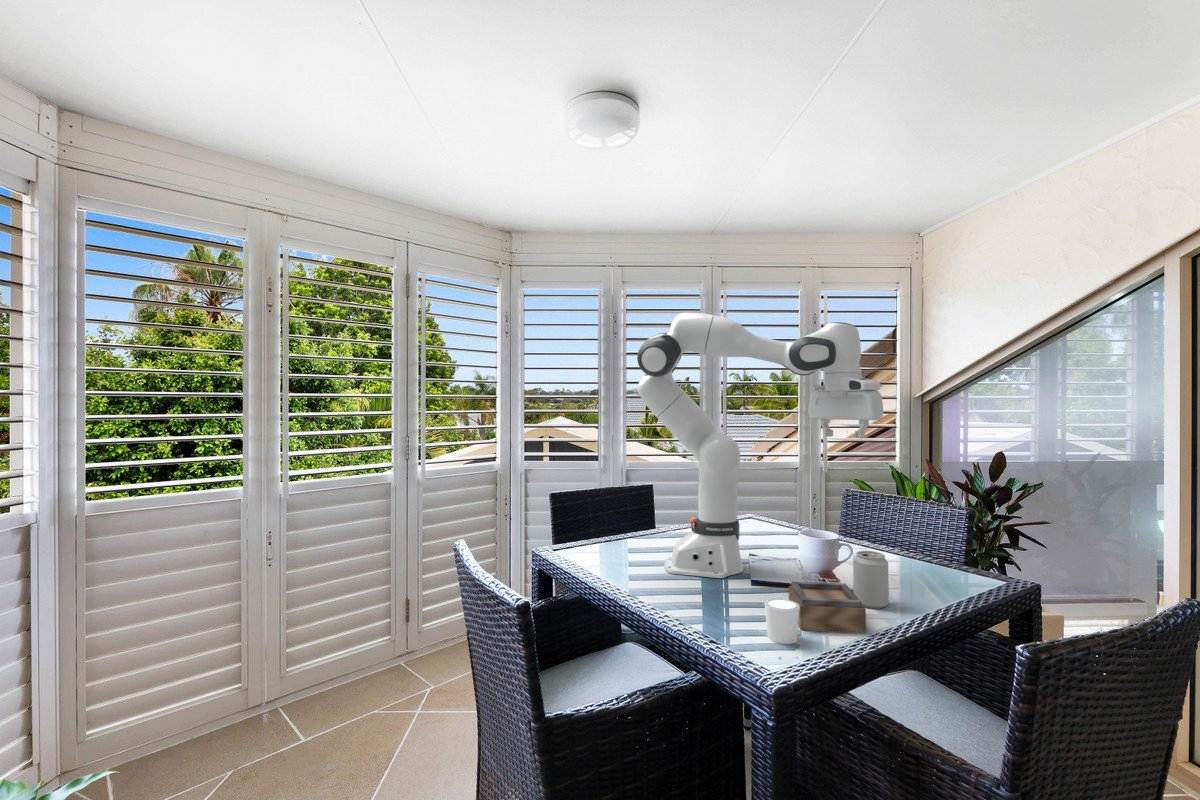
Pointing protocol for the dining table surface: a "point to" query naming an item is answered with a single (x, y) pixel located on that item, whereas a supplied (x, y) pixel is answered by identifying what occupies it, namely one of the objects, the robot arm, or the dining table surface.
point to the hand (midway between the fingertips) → (844, 437)
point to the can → (871, 579)
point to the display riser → (828, 607)
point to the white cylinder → (782, 620)
